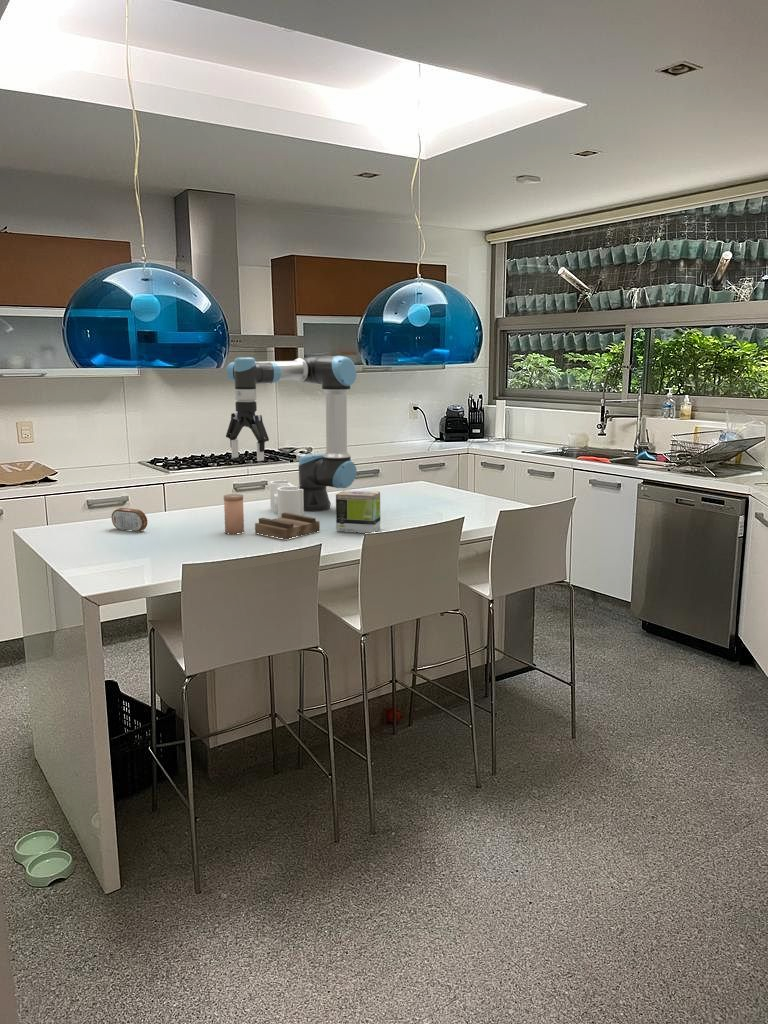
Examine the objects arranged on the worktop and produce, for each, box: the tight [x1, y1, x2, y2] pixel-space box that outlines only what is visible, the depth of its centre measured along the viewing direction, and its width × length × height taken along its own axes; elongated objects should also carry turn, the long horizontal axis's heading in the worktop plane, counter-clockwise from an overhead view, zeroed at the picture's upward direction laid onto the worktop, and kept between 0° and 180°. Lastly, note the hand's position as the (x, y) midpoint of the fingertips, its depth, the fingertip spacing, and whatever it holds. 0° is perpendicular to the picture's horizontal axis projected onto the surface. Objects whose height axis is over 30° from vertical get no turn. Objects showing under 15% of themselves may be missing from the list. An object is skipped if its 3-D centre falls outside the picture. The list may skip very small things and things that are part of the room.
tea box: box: [335, 489, 381, 534], centre depth 304 cm, size 15×10×15 cm
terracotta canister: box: [223, 493, 245, 535], centre depth 299 cm, size 7×7×14 cm
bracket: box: [269, 480, 305, 518], centre depth 333 cm, size 25×10×12 cm, turn 22°
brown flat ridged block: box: [254, 513, 321, 539], centre depth 300 cm, size 18×16×6 cm
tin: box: [111, 507, 148, 532], centre depth 302 cm, size 15×3×8 cm, turn 68°
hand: (247, 459), depth 294 cm, fingers open, 13 cm apart
